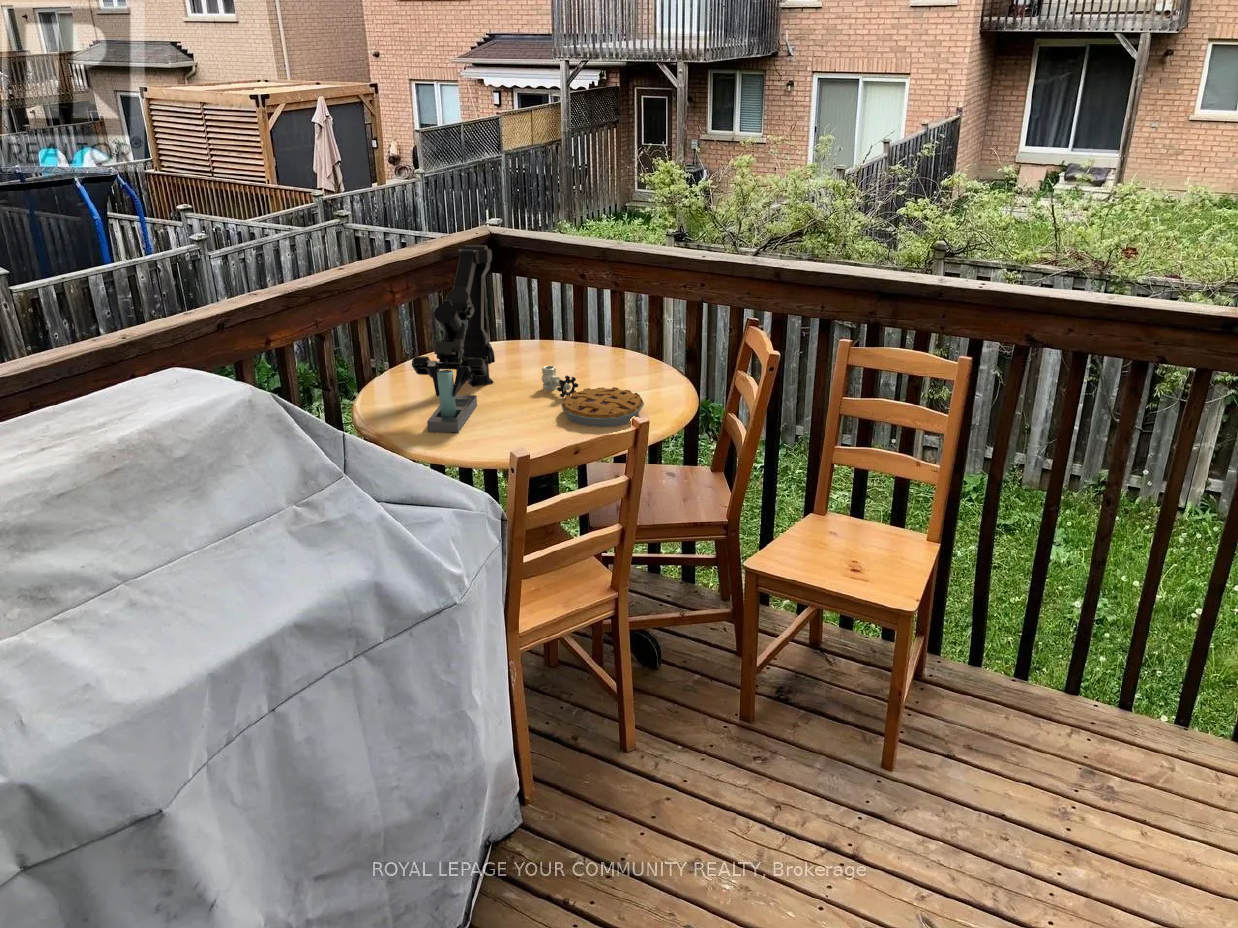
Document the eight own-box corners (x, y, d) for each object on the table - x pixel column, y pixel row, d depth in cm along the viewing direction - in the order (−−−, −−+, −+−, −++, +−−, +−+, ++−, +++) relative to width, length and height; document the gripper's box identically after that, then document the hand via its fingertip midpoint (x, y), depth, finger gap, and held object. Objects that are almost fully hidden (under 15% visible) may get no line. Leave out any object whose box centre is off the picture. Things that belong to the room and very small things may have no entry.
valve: (536, 390, 285) (559, 401, 276) (535, 368, 282) (558, 378, 273) (555, 385, 288) (578, 396, 279) (554, 363, 286) (578, 374, 277)
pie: (656, 407, 271) (656, 389, 269) (623, 435, 253) (623, 416, 251) (584, 396, 279) (583, 379, 277) (547, 423, 261) (546, 405, 259)
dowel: (438, 419, 261) (434, 372, 255) (451, 415, 263) (447, 368, 258) (446, 423, 258) (442, 376, 253) (459, 419, 260) (455, 372, 255)
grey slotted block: (448, 405, 274) (447, 394, 273) (477, 405, 273) (476, 395, 272) (428, 432, 256) (427, 421, 255) (458, 433, 255) (457, 422, 254)
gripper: (410, 326, 255) (401, 381, 250) (481, 327, 253) (474, 383, 248) (421, 346, 266) (413, 400, 260) (490, 348, 264) (483, 401, 258)
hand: (445, 396), depth 256 cm, fingers closed on dowel, 4 cm apart
